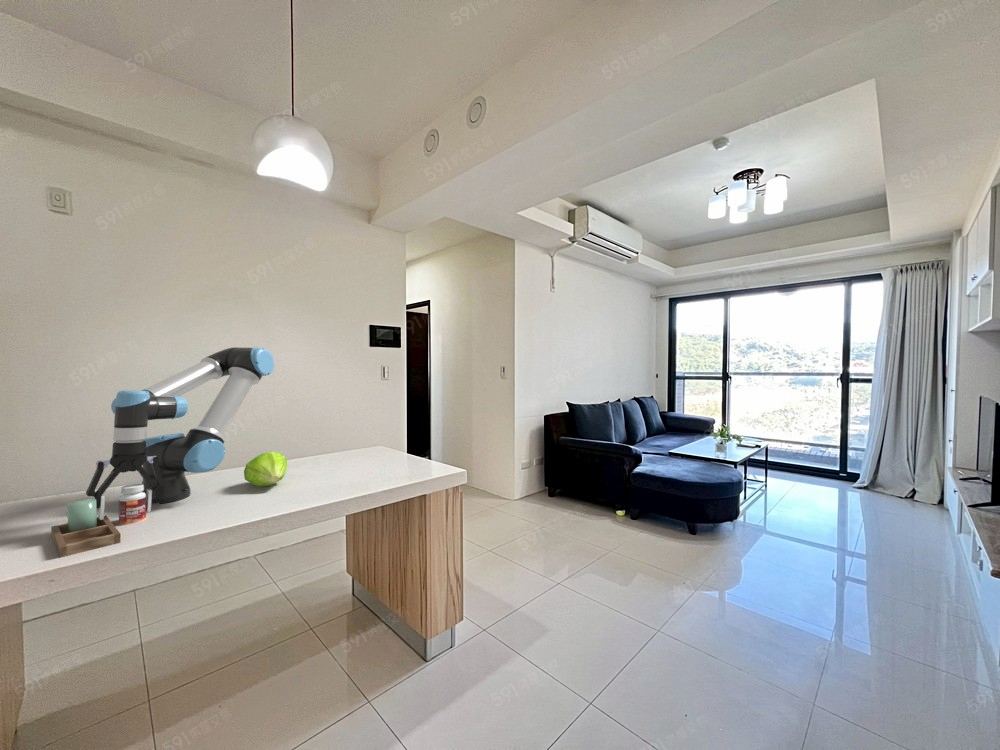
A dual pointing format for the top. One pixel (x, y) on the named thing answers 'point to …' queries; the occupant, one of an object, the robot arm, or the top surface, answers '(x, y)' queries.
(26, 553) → the top surface
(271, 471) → the lettuce
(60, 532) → the crate
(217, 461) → the robot arm
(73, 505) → the soap bar
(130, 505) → the pill bottle
